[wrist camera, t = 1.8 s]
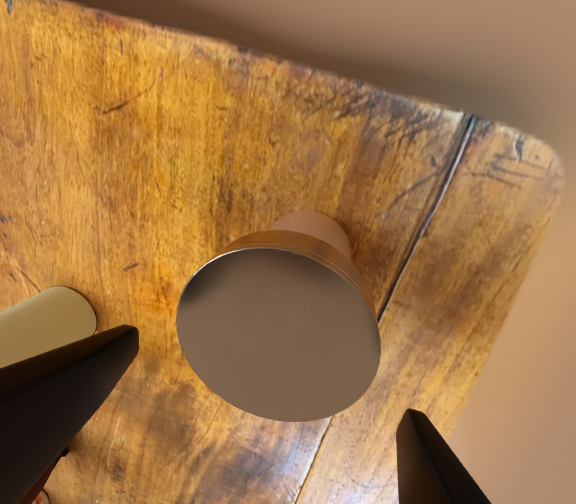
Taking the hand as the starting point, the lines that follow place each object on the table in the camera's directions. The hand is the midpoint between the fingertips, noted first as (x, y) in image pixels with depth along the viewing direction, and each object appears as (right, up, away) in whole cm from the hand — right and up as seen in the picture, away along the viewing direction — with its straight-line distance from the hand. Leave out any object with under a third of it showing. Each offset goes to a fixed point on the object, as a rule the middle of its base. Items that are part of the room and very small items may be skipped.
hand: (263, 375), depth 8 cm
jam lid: (0, +1, +2) cm, 2 cm away
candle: (-17, -1, +15) cm, 23 cm away
